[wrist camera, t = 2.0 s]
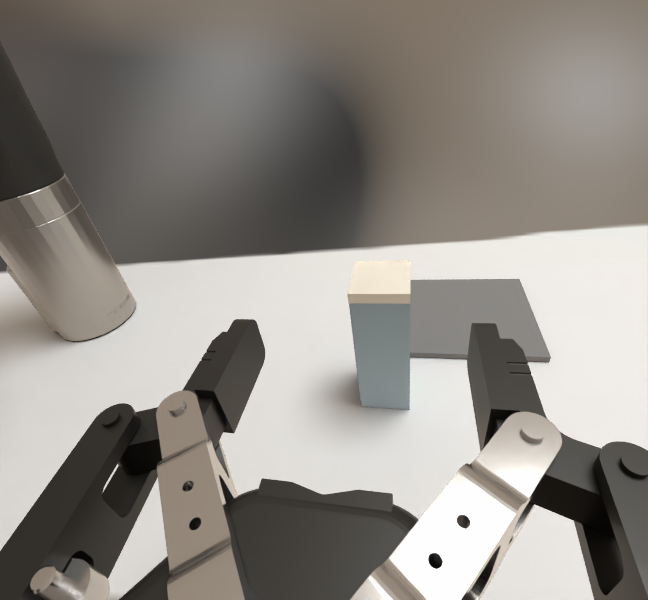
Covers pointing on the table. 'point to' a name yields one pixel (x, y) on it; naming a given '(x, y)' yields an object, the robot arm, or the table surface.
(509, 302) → the mat
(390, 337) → the blue block
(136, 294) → the table surface
